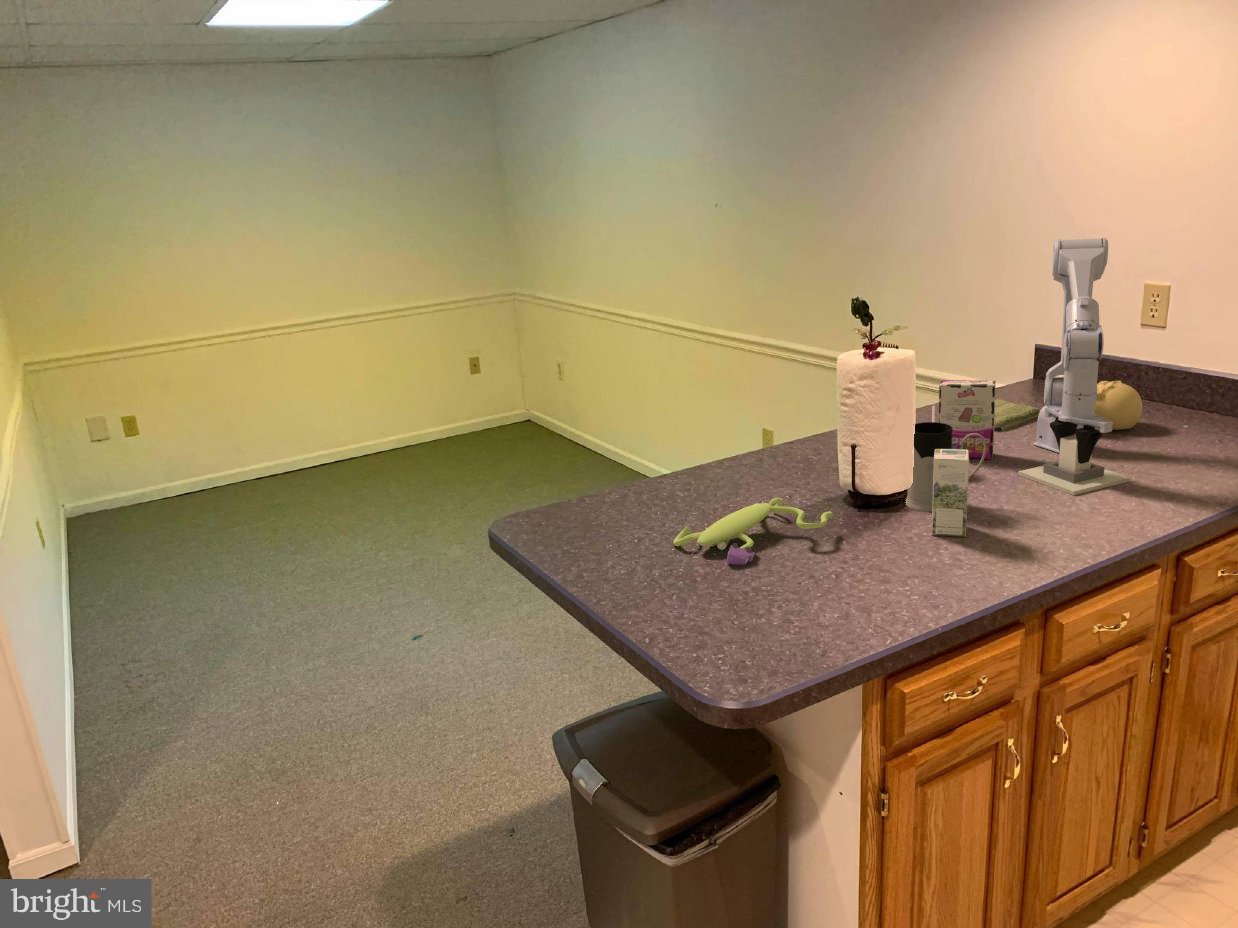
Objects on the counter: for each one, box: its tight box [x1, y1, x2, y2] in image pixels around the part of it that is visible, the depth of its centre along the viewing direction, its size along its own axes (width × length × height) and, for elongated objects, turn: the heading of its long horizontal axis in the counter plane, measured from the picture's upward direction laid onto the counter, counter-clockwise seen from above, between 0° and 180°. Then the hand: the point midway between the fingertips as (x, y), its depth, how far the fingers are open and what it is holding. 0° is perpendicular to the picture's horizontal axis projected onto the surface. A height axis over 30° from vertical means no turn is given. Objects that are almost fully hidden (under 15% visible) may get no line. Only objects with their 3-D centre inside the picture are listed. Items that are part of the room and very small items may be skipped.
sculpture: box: [1094, 380, 1143, 431], centre depth 211 cm, size 11×12×11 cm
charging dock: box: [1017, 460, 1131, 496], centre depth 184 cm, size 14×14×3 cm
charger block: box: [1058, 435, 1093, 472], centre depth 183 cm, size 4×4×6 cm
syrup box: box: [931, 449, 970, 538], centre depth 163 cm, size 6×6×14 cm
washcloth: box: [994, 398, 1041, 432], centre depth 225 cm, size 13×18×3 cm
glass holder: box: [904, 421, 987, 513], centre depth 175 cm, size 9×14×15 cm, turn 78°
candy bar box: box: [938, 379, 996, 460], centre depth 200 cm, size 11×5×16 cm, turn 68°
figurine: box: [672, 497, 834, 566], centre depth 167 cm, size 18×27×6 cm
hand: (1074, 459), depth 183 cm, fingers closed on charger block, 4 cm apart
